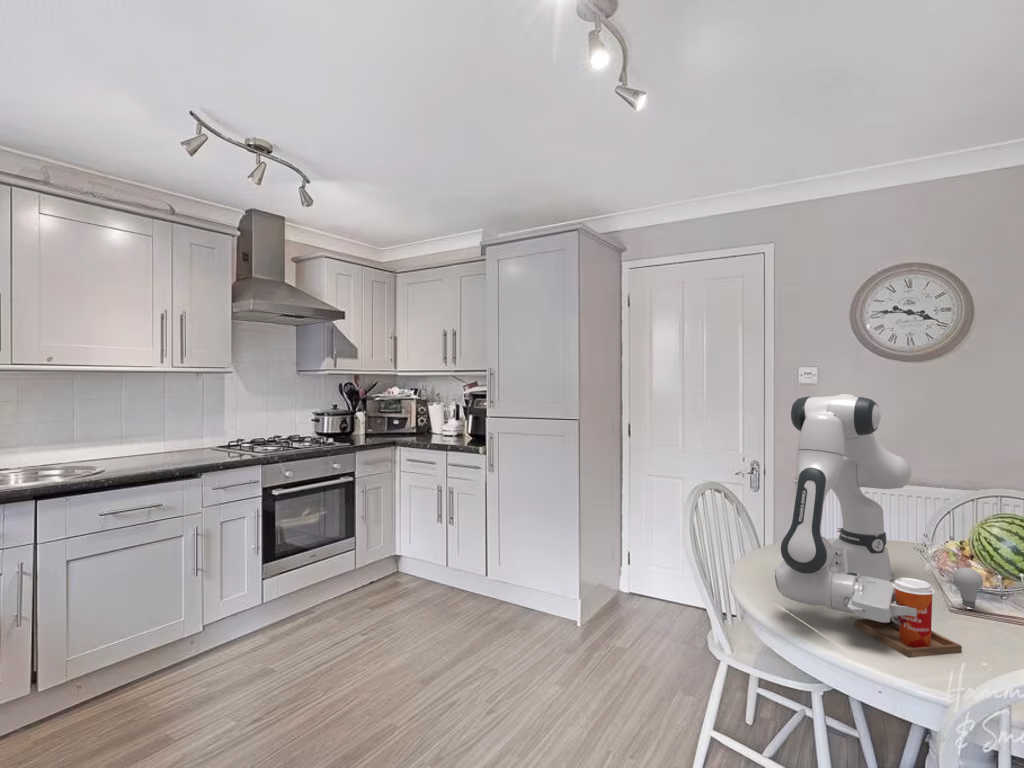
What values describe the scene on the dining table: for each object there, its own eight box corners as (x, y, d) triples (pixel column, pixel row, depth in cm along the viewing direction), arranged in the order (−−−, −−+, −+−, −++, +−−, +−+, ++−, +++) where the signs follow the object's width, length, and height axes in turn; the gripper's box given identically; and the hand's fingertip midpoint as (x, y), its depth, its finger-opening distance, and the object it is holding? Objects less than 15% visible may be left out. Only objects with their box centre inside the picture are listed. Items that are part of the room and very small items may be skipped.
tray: (854, 627, 133) (854, 619, 133) (902, 624, 134) (901, 615, 134) (908, 659, 117) (908, 650, 117) (961, 655, 118) (961, 645, 118)
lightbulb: (976, 605, 144) (974, 564, 144) (989, 614, 138) (987, 572, 138) (949, 603, 145) (947, 563, 146) (961, 613, 140) (959, 571, 140)
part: (888, 626, 132) (887, 614, 132) (901, 625, 132) (901, 613, 132) (900, 632, 128) (899, 620, 129) (913, 631, 129) (913, 619, 129)
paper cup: (889, 641, 124) (886, 581, 124) (903, 632, 128) (900, 574, 129) (929, 654, 118) (926, 591, 118) (942, 644, 122) (940, 583, 122)
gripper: (840, 593, 124) (914, 607, 115) (852, 569, 140) (918, 580, 131) (841, 620, 124) (915, 637, 115) (853, 593, 140) (919, 606, 131)
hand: (917, 606), depth 123 cm, fingers open, 6 cm apart
